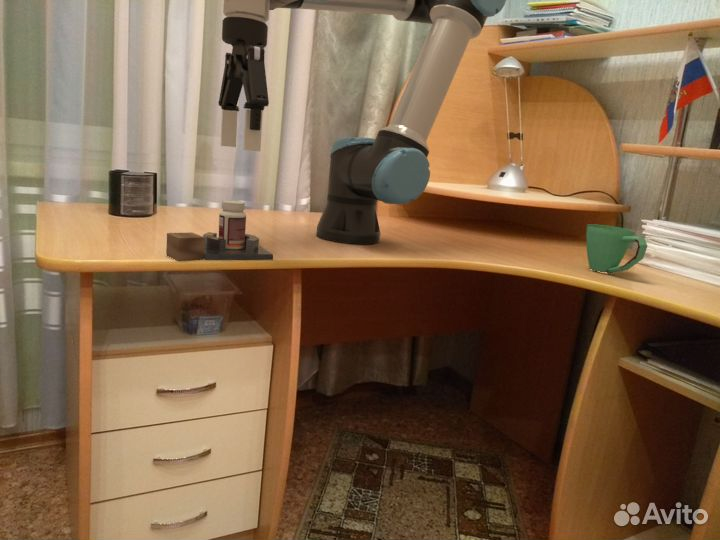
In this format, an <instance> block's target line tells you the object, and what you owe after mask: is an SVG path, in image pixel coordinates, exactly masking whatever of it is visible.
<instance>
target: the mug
mask: <svg viewBox="0 0 720 540" xmlns="http://www.w3.org/2000/svg"><path fill="white" fill-rule="evenodd" d="M585 231H586V236H585V237H586V254H587V256H586V257H587V261H588V266H589V270H590V269H592V270H595V271H600V272H607V273H613V272H614V273H619V272H623V271H628V270H630V269H632V267H634V266H635V265H637V264H638V263H639V262H640V261H642V260H643V259H644V258H645V254H646V251H647V249H648V244H647V242H646V238H644V237H642V236H638V235H635V231H634V230H632V229H630V228H629V229H628V228H623V227H620V226H619V227H617V226H611V225H604V224H596V223H594V224H592V223H591V224H590V223H588V224H586V230H585ZM631 243H637V244H636V245H637V249H636V252H635V255H634V256H633V257H632V258H630V259H629V260H628V261H627V262H626V263H624V264H622V265H620V264H621V262H622V260H623V259H624V257H625V255H626V253H627V250H628V248H629V247H630V245H631ZM614 273H613V274H614Z"/></svg>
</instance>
